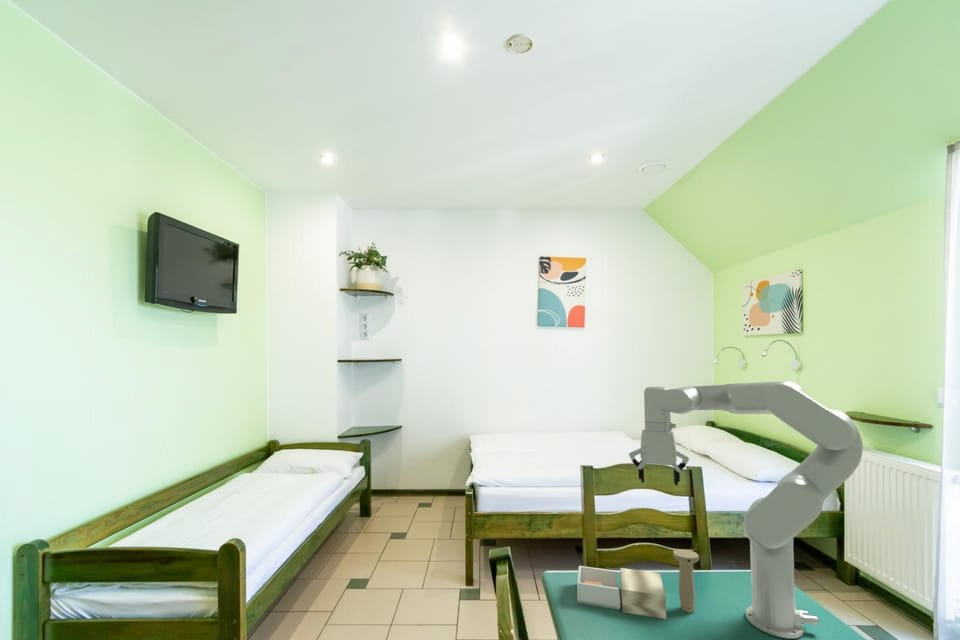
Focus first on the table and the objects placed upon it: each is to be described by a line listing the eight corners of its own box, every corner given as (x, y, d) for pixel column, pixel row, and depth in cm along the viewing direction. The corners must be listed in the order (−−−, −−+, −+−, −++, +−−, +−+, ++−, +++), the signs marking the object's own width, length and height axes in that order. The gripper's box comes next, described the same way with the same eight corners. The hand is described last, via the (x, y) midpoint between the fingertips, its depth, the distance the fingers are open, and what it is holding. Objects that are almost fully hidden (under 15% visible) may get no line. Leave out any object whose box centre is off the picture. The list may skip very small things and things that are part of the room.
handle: (703, 616, 116) (701, 558, 117) (678, 614, 116) (676, 557, 117) (696, 605, 120) (694, 550, 121) (672, 604, 121) (670, 549, 122)
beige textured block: (660, 594, 126) (659, 573, 126) (666, 619, 114) (665, 595, 115) (620, 588, 129) (620, 567, 129) (622, 612, 117) (622, 589, 118)
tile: (584, 580, 128) (584, 589, 128) (584, 589, 123) (584, 598, 123) (601, 582, 126) (601, 591, 126) (602, 591, 122) (602, 601, 121)
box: (619, 589, 128) (618, 571, 129) (620, 609, 118) (620, 589, 119) (579, 584, 131) (579, 565, 132) (577, 602, 122) (577, 583, 122)
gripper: (685, 426, 136) (687, 481, 135) (627, 423, 141) (628, 477, 139) (690, 430, 129) (691, 489, 127) (629, 427, 133) (630, 483, 132)
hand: (658, 482), depth 133 cm, fingers open, 9 cm apart
